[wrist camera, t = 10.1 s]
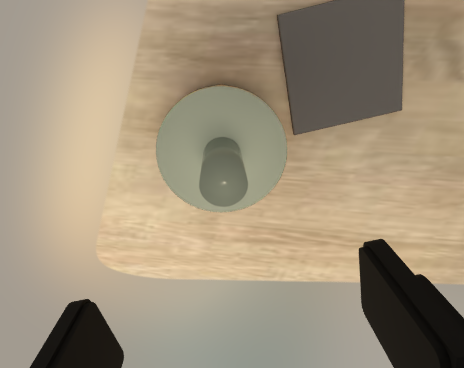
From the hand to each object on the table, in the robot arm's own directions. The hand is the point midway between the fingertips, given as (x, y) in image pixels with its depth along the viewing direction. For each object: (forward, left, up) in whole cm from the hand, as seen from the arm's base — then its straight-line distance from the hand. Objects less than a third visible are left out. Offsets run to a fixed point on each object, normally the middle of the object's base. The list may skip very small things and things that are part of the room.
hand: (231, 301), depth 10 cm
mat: (-13, -4, -22) cm, 26 cm away
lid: (0, 0, -17) cm, 17 cm away
